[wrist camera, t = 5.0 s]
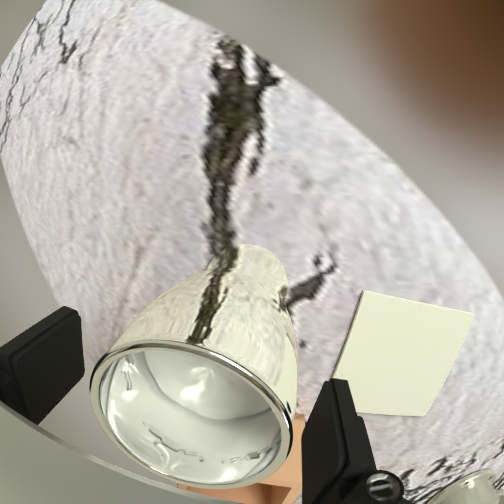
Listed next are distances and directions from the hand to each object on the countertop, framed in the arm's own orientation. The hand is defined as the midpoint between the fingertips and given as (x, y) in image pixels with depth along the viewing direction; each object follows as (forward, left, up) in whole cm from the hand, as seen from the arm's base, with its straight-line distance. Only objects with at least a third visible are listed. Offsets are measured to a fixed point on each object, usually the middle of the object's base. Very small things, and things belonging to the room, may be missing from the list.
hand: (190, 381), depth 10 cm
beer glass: (0, 0, -13) cm, 13 cm away
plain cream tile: (-14, +4, -13) cm, 20 cm away
